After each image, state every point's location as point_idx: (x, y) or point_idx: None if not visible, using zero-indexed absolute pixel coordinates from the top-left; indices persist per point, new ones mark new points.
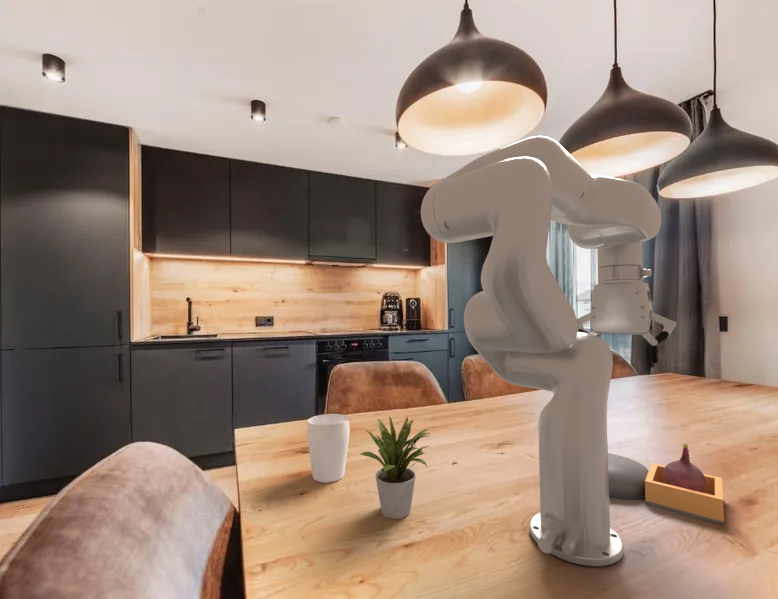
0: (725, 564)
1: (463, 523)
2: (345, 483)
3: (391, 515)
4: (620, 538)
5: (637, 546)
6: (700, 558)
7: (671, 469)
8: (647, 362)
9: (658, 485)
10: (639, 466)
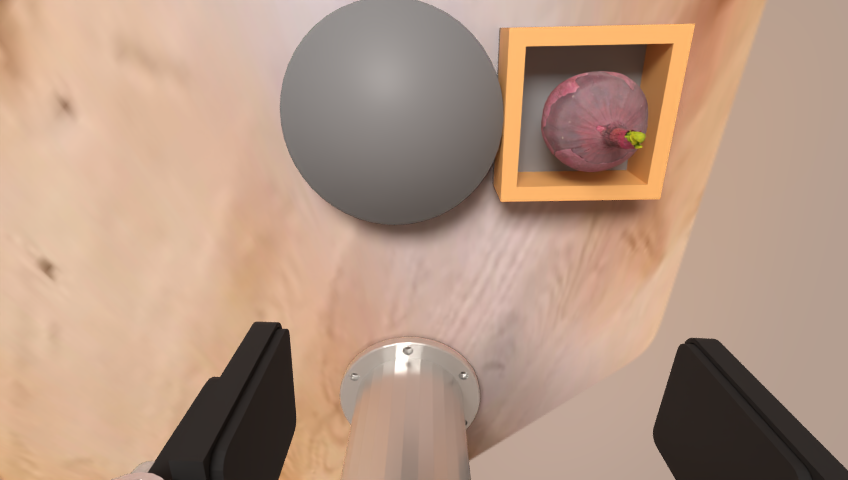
0: (609, 320)
1: None
2: (14, 470)
3: None
4: (473, 374)
5: (493, 351)
6: (578, 326)
7: (569, 156)
8: (668, 463)
9: (529, 200)
10: (475, 70)
